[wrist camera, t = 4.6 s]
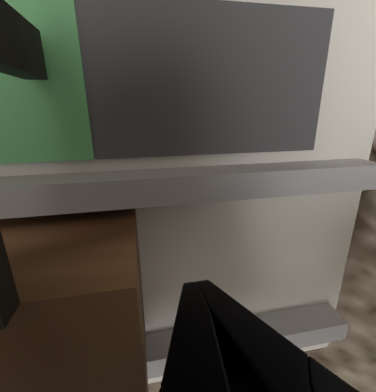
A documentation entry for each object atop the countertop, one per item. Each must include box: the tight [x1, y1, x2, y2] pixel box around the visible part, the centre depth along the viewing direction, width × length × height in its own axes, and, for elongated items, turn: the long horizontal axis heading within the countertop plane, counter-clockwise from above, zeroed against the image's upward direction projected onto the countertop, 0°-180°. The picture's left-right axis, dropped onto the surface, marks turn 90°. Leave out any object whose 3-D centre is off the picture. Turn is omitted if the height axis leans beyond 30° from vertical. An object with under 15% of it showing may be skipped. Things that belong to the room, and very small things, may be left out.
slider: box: [0, 0, 148, 392], centre depth 5 cm, size 4×10×4 cm, turn 1°
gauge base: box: [0, 0, 376, 384], centre depth 7 cm, size 19×14×5 cm
